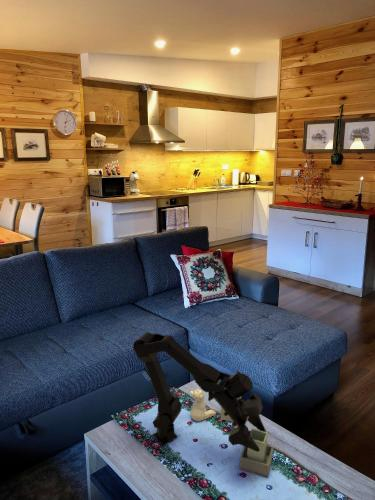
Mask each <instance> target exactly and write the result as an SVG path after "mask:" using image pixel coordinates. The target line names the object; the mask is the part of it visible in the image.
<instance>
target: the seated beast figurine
mask: <svg viewBox="0 0 375 500" xmlns="http://www.w3.org/2000/svg"><path fill="white" fill-rule="evenodd" d="M190 395H191V398H193V399H194V401H193V404H192V407H191V410H190V417H191V419H192V420H194V421H196V422H201V420H203V421H204V419H205V420H207V419H210V418H213V417H214V416H215V415H217V414H216V411H215V410H213V409H207V407H206V406H207V403H206V401H205V395H204V393H203V390H202V389H201V388H195V389H194V390H190ZM212 416H213V417H212ZM209 417H210V418H209Z"/></svg>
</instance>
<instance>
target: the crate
mask: <svg viewBox="0 0 375 500" xmlns="http://www.w3.org/2000/svg"><path fill="white" fill-rule="evenodd" d="M247 451H248V447H245V446H243V449H242V451H241V455H240V457H239V470H241V471H244V472H247V473H251V474H254V475H257V476H260V477H264V478H267V479H268V477H269V474H270V470H271V466H272V463H271V462H273V459H274V446H273V445H269V444H267V451H266V460H265V464H264V463H261V462H257V461H254V460H250V459H247ZM272 458H273V459H272Z"/></svg>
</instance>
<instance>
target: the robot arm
mask: <svg viewBox="0 0 375 500" xmlns="http://www.w3.org/2000/svg"><path fill="white" fill-rule="evenodd" d="M132 349H133V351H134V353H135V354H136V357H137V358H138V359H139V360H140V361H142V363H144V366H145V367H146V368H145V369H146V370H147V373H148V377H149V379H150V382H151V384H152V387H153V390H154V393H155V395H156V398H157V415H156V416H155V418H154V420H153V421H152V425H153V427H154V428H155V429H156V431H155V433H153V435H152V436H153V437H154V438H155V439H156V440H157V441H158V442H159V443H160V444H161V445H162V446H165V445H166V444H168V443H170V442H172V441H174V440H176V439H178V435H177V434H176V432H175V424H174V423H175V422H176V421H177V418H178V417H179V415H180V414H181V412H182V407H183V404H182V403H181V401H180V396H174V395H173V394H172V393H171V390H170V387H169V385H168V382H167V380H166V376H165V373H164V371H163V368H162V365H161V363H160V359H159V358H158V353H160V352H165V353H166V354H167V355H169V357H171V358H172V359H173V360H174V361H176V363H178V364H179V365H180V366H181V367H183V369H184V370H186V371H187V372H188V373H189V374H190V375H191V376H192V378H193V379H194V382H195V383H196V385H198V387H199V389H200V390H201V391H202V392H203V391H204V392H205V393H207V394H208V398H207V400H208V402H210V401H212V400H213V399H214V400H215V401H216V402H217V404H218V405H219V406H220V408H221V407H222V408H223V410H224V411H225V412H224V415H225V416H227V415H229V417H230V418H231V419H232V420H233V422H231V425H232V426H233V427H234V428H233V429H232V430H231V431H230V434H229V435H228V442H229V443H230V444H231V445H232V446H233V447H234V446H237V445H240V446H243V447H244V446H245V447H248V448H250V449H252V450H254V451H257V452H258V451H260V449H259V447H258V446H257V444H256V443H255V442H254V440H253V439H252V437H251V430H249V427H248V426H247V425H246V424H247V422H248V423H250V424H252V426H253V427H255V429H256V430H260V431H263V432H267V431H266V427H265V426H264V423H263V421H262V419H261V417H260V415H261V414H262V410H263V405H262V398H260V396H259V395H258V394H257V393H256V392H252V393H251V394H250V396H249V398H247V400H245V399H243V398H242V397H243V396H245V394H247V393H249V392H250V391H252V390H253V388H254V386H253V381H252V380H251V378H250V377H249V376H248V375H246V374H245V373H241V372H240V371H239V370H238V371H236V372H235V373H234V374H233V375H231V374H229V373H225V372H222V371H220V370H218V369H217V368H215V367H214V366H213V365H210V364H207V363H204V362H202V361H200V360H199V359H198V358H197V357H195V355H193V354H192V353H190V352H189V351H188V350H187V349H186V348H185V347H183V345H182V344H180V343H179V342H177V341H176V340H175V338H174V337H173V336H171V335H168V334H166V335H164V334H161V333H152V332H149V331H148V332H144V333H143V334H142V335H141V336H139V338H137V339H136V340H135V341H134V342H133V345H132ZM239 397H241V398H239ZM237 398H238V399H237Z"/></svg>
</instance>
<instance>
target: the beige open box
mask: <svg viewBox="0 0 375 500" xmlns="http://www.w3.org/2000/svg"><path fill="white" fill-rule="evenodd" d="M250 431H251V437H252V439H253V440H254V442H255V443H256V444H257V446H258V447H259V449H260V451H258V452H257V451H254V450H252V449H250V448H248V451H247V459H250V460H254V461H257V462H261V463H264V464H265V460H266V451H267V445H268V432H267V431H266V432H263V431H260V430H259V429H257V428H251V430H250Z"/></svg>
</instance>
